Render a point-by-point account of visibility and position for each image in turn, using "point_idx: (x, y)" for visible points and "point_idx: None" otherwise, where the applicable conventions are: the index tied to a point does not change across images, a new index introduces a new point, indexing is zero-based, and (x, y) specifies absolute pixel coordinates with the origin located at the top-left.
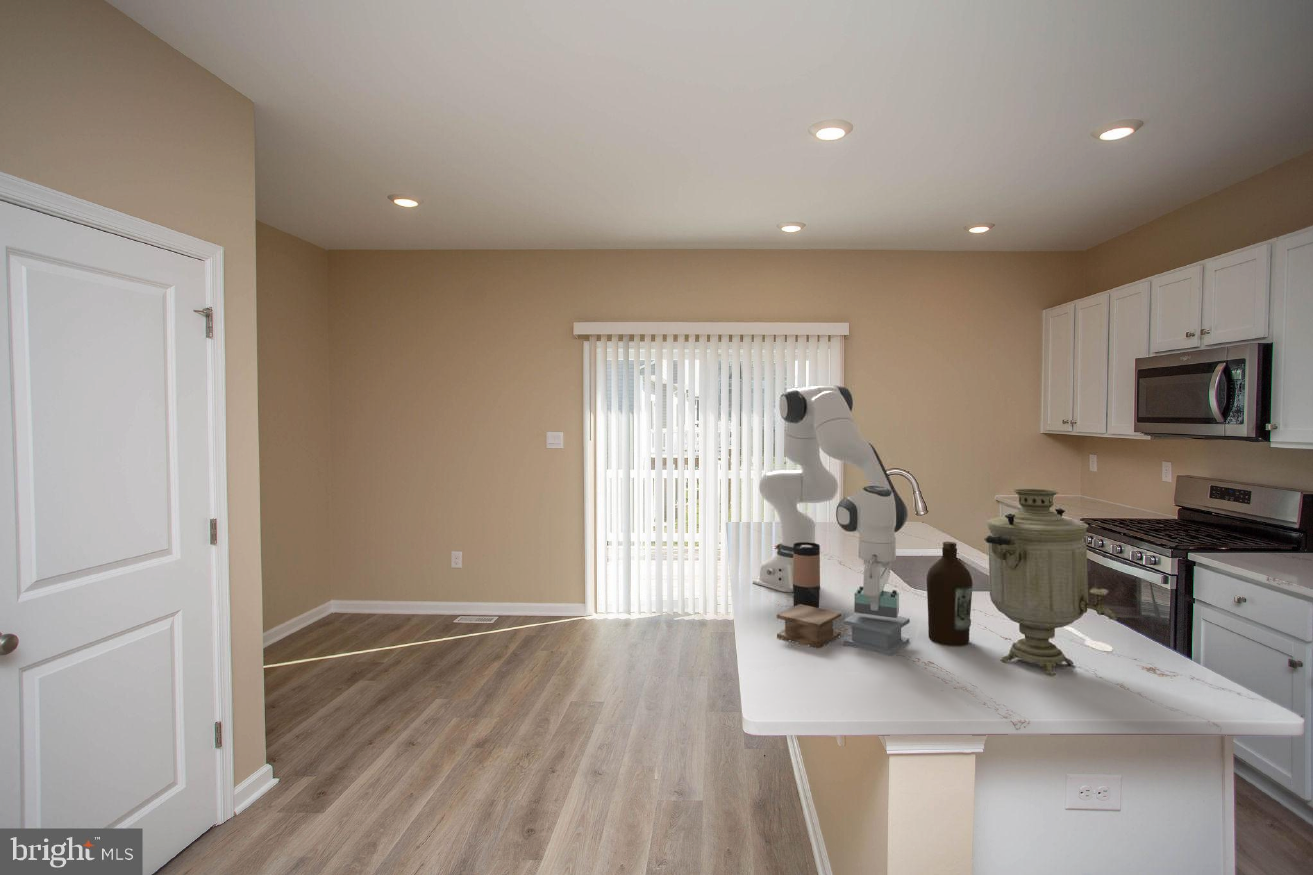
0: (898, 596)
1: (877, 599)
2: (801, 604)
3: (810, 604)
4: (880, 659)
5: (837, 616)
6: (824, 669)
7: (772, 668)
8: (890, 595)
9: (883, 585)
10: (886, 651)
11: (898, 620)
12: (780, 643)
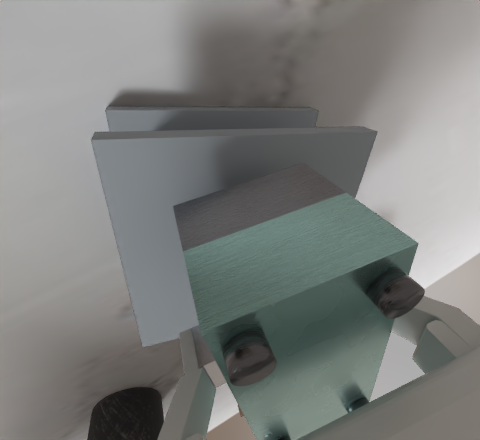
0: (254, 284)
1: (438, 304)
2: (242, 413)
3: (149, 425)
4: (353, 122)
5: None
6: (444, 194)
7: (450, 252)
8: (353, 312)
9: (452, 435)
10: (312, 127)
11: (192, 176)
12: None
